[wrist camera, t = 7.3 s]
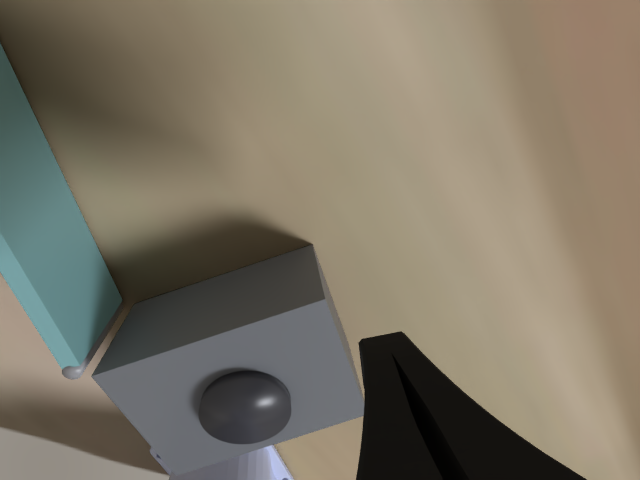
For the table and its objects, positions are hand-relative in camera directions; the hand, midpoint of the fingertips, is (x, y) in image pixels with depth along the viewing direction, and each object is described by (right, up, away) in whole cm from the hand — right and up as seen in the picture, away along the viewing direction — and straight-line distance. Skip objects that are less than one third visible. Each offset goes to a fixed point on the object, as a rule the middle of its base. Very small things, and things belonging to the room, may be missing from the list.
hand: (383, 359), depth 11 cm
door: (-15, +6, +6) cm, 17 cm away
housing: (-6, -2, +12) cm, 13 cm away
